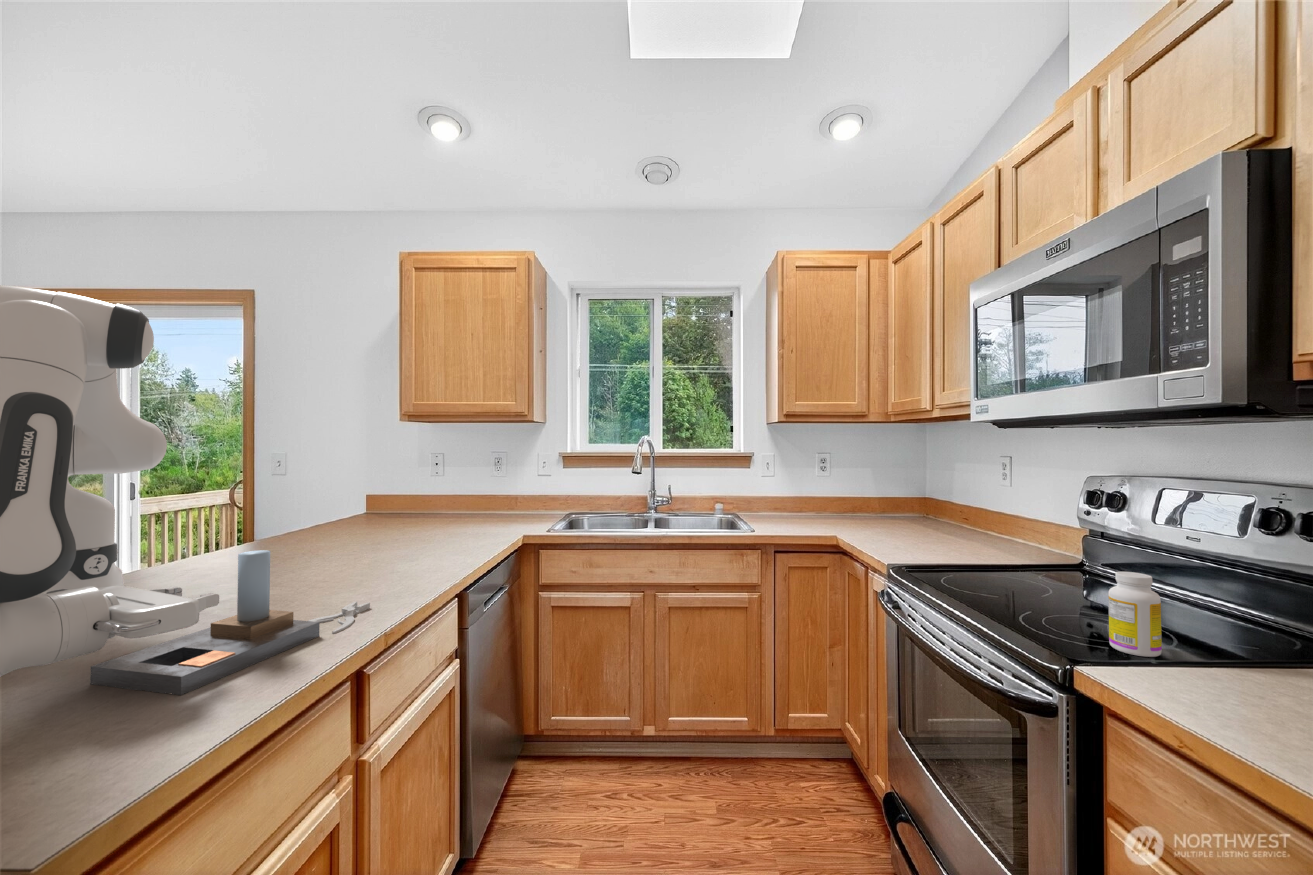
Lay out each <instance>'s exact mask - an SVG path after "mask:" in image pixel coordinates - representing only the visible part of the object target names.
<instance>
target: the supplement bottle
mask: <svg viewBox="0 0 1313 875" xmlns="http://www.w3.org/2000/svg"><path fill="white" fill-rule="evenodd" d="M1114 578H1115V581H1116V585H1115V586H1113V587H1112V586H1111V587H1110V588H1109V590H1108V640H1109V646H1111V647H1112V648H1113V649H1115V650H1117V651H1119V652H1121V653H1125V654H1129V655H1134V656H1139V657H1146V658H1148V657H1149V658H1156V657H1159V656H1161V655H1162V650H1163V649H1162V648H1163V647H1162V646H1163V644H1162V643H1163V642H1162V641H1163V640H1162V601H1161V596H1160V595H1159V594H1158V593H1157V592H1155V591H1154V590H1152V585H1153V584H1154V583H1153V577H1152V575H1149V574H1145V573H1140V572H1134V571H1133V572H1132V571H1115V577H1114Z"/></svg>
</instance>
